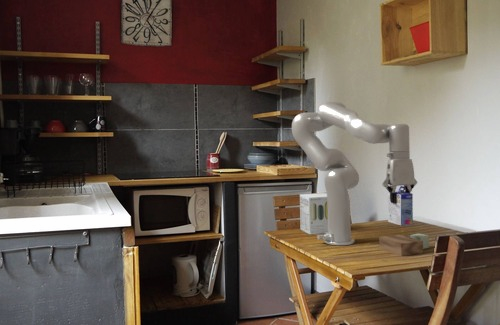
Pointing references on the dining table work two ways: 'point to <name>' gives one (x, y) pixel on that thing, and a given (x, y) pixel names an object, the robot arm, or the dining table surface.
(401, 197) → the ink cartridge box
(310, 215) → the supplement box
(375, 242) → the dining table surface
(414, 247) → the walnut block
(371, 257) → the dining table surface
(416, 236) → the sage cube
